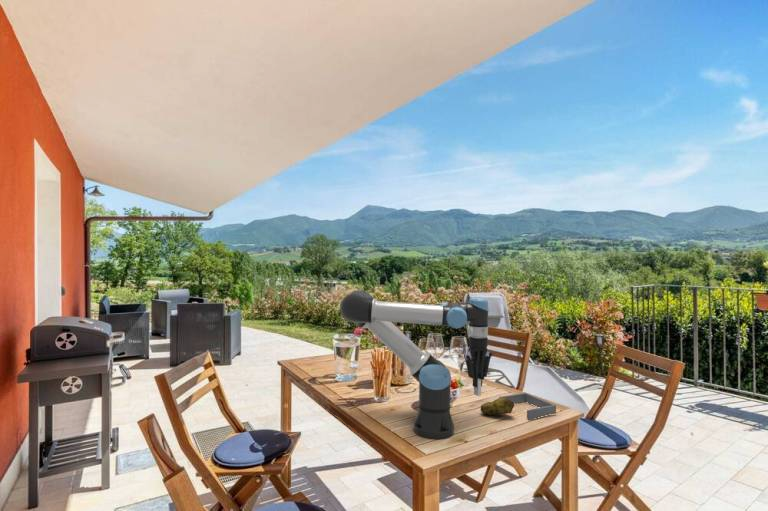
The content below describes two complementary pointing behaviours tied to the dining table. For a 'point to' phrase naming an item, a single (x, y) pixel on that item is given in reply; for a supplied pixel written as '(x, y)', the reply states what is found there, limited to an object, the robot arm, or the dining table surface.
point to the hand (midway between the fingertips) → (477, 394)
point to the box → (544, 406)
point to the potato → (498, 407)
